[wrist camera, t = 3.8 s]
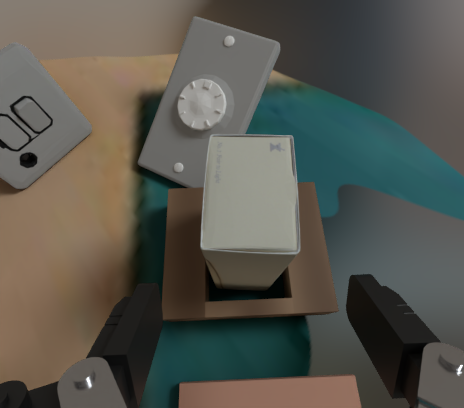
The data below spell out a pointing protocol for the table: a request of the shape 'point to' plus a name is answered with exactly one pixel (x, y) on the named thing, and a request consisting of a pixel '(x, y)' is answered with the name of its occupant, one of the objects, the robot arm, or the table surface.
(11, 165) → the electrical switch
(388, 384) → the robot arm
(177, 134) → the light switch
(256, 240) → the skincare box
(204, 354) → the table surface
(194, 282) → the frame
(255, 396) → the terracotta mat
